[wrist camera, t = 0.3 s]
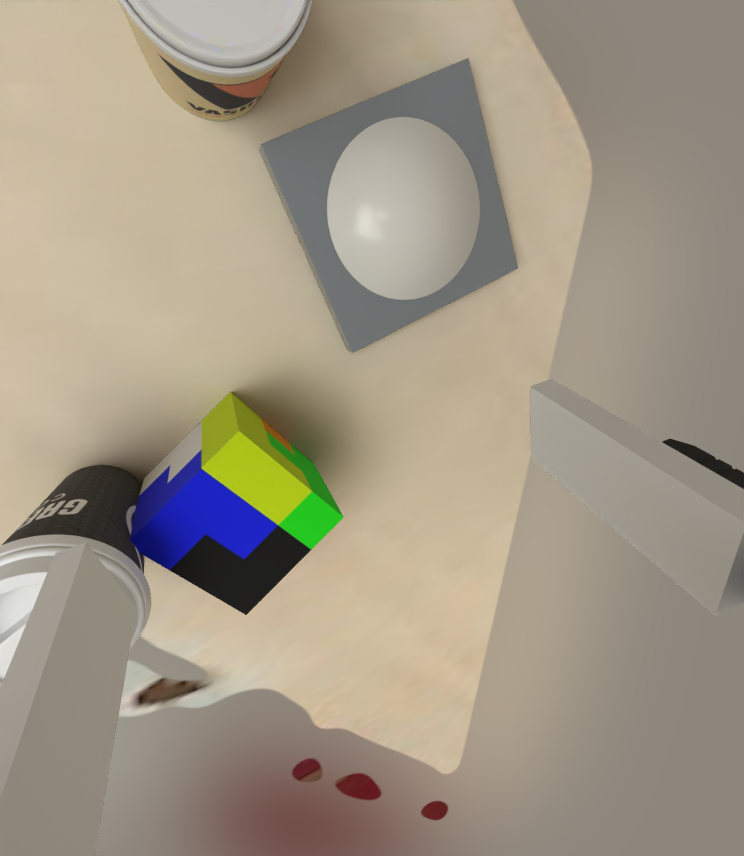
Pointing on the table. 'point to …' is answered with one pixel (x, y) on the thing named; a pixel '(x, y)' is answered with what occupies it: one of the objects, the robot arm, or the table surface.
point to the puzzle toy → (233, 507)
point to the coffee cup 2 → (216, 48)
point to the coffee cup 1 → (67, 527)
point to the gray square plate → (395, 203)
